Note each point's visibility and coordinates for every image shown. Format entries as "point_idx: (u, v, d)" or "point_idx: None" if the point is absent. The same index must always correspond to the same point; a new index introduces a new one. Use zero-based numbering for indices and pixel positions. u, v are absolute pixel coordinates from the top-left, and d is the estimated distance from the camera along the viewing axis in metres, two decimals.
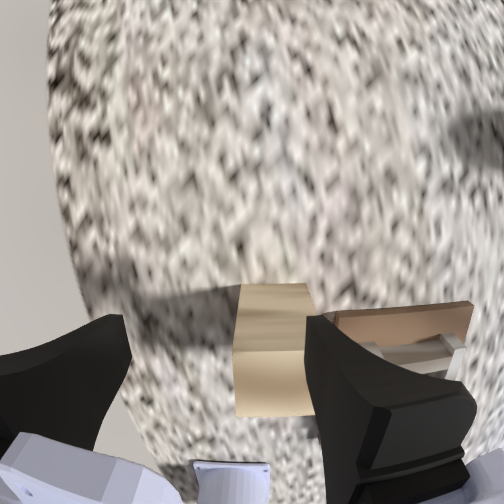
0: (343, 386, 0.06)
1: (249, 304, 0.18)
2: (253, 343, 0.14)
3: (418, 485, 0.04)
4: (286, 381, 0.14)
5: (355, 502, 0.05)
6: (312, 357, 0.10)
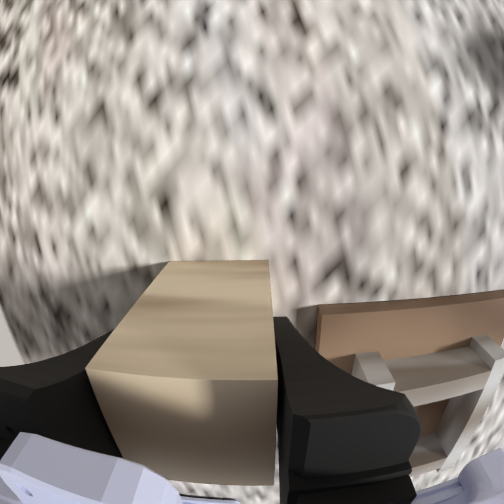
0: (284, 390, 0.06)
1: (163, 289, 0.11)
2: (130, 357, 0.07)
3: (354, 500, 0.04)
4: (197, 433, 0.07)
5: None
6: None
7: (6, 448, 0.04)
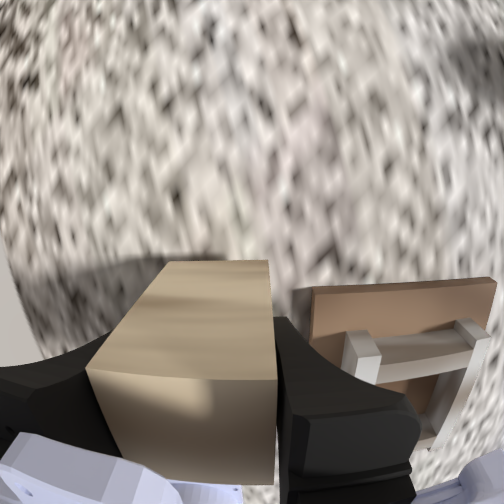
0: (284, 390, 0.06)
1: (163, 288, 0.11)
2: (130, 357, 0.07)
3: (354, 500, 0.04)
4: (197, 433, 0.07)
5: None
6: None
7: (6, 448, 0.04)
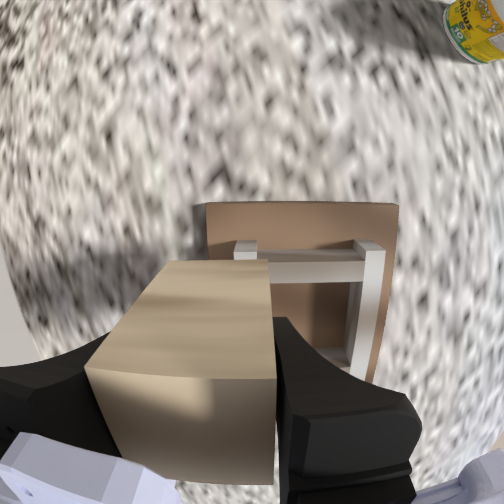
0: (284, 390, 0.06)
1: (162, 288, 0.11)
2: (128, 356, 0.07)
3: (354, 500, 0.04)
4: (196, 432, 0.07)
5: None
6: None
7: (6, 448, 0.04)
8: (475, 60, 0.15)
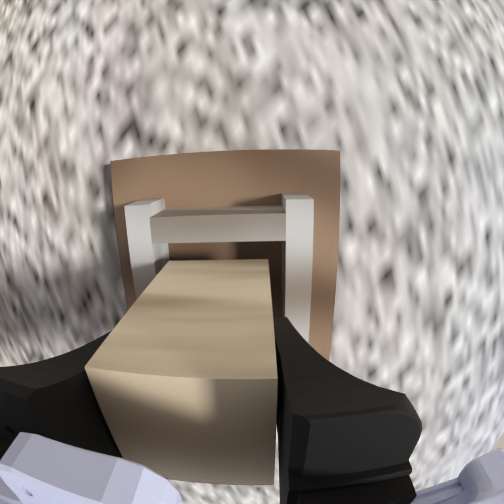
0: (284, 390, 0.06)
1: (163, 288, 0.11)
2: (129, 355, 0.07)
3: (354, 500, 0.04)
4: (196, 432, 0.07)
5: None
6: None
7: (6, 448, 0.04)
8: None
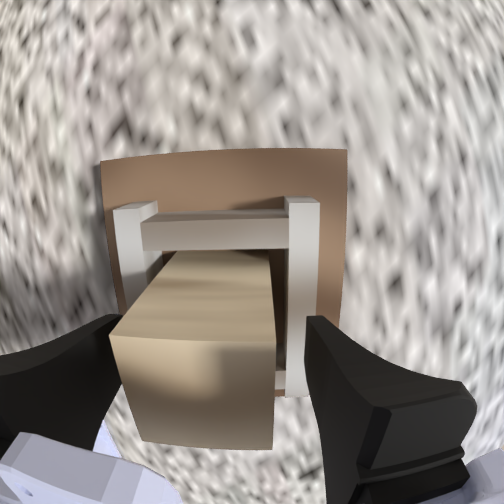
0: (343, 386, 0.06)
1: (174, 273, 0.12)
2: (148, 325, 0.08)
3: (418, 485, 0.04)
4: (205, 394, 0.08)
5: (355, 502, 0.05)
6: (312, 357, 0.10)
7: None
8: None
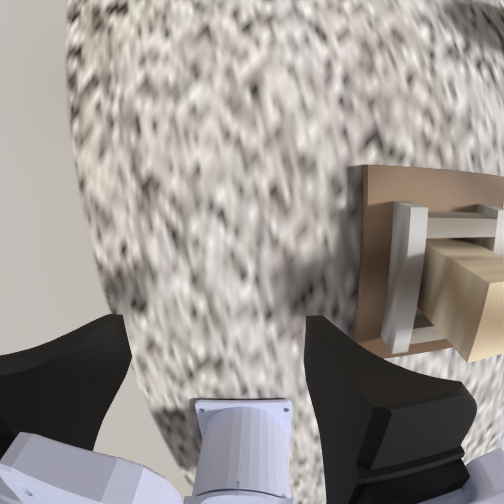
0: (343, 386, 0.06)
1: (449, 252, 0.16)
2: (495, 277, 0.12)
3: (417, 486, 0.04)
4: None
5: (355, 502, 0.05)
6: (312, 357, 0.10)
7: None
8: None
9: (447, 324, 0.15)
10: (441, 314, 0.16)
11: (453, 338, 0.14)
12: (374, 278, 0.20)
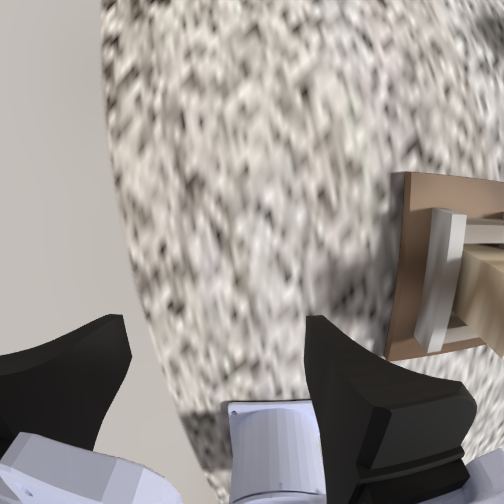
0: (343, 386, 0.06)
1: (483, 257, 0.16)
2: None
3: (418, 485, 0.04)
4: None
5: (355, 502, 0.05)
6: (312, 357, 0.10)
7: None
8: None
9: (482, 324, 0.15)
10: (475, 314, 0.16)
11: (488, 337, 0.14)
12: (412, 281, 0.20)
